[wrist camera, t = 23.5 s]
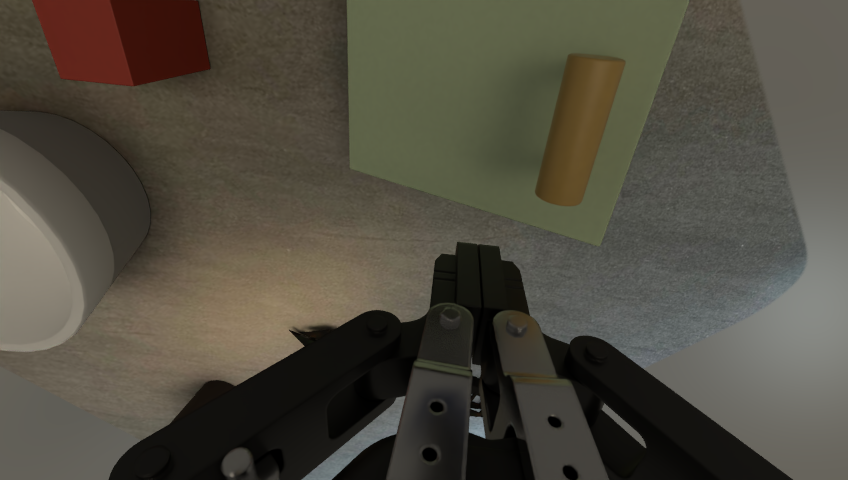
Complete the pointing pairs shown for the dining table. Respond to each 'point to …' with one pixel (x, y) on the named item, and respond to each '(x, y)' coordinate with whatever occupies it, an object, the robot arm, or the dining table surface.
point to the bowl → (60, 226)
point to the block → (124, 39)
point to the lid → (508, 100)
